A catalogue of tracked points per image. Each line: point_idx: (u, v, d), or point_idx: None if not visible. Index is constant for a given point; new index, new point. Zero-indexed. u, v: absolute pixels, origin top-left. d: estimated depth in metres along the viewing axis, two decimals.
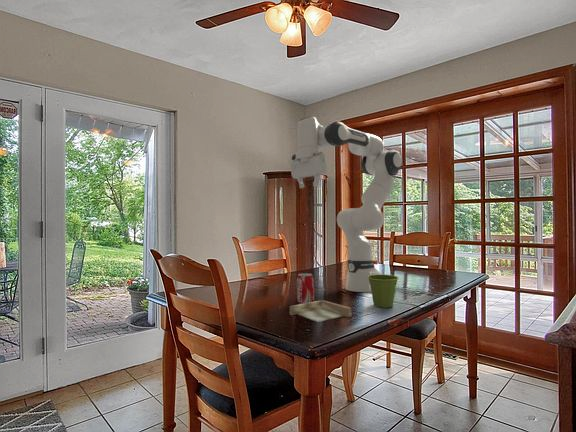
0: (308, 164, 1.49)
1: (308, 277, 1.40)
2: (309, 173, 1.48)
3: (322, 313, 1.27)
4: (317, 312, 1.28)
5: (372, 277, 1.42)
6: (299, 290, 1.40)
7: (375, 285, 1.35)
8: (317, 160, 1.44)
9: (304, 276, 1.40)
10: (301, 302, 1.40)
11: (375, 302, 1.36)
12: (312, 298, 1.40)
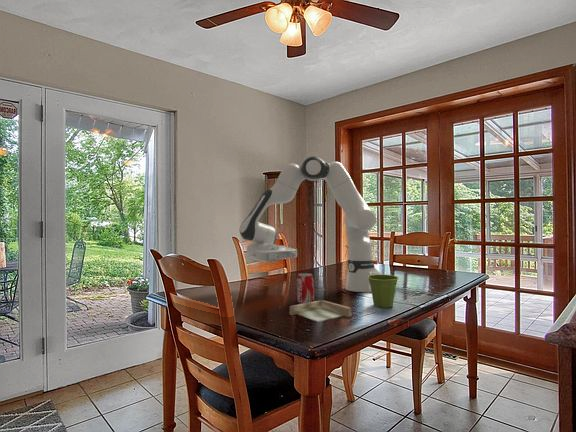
0: None
1: (308, 277, 1.40)
2: (273, 259, 1.56)
3: (322, 313, 1.27)
4: (317, 312, 1.28)
5: (372, 277, 1.42)
6: (299, 290, 1.40)
7: (375, 285, 1.35)
8: None
9: (304, 276, 1.40)
10: (301, 302, 1.40)
11: (375, 302, 1.36)
12: (312, 298, 1.40)
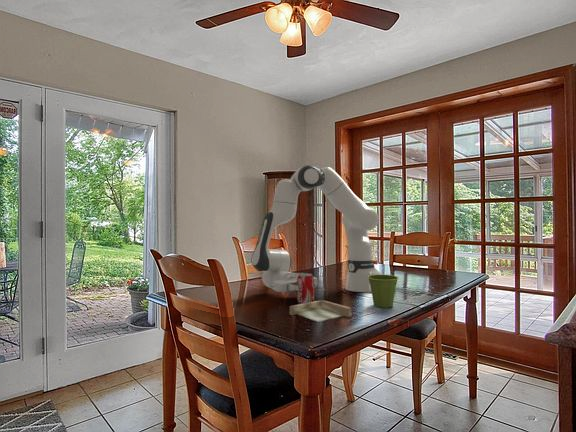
0: None
1: (308, 277, 1.40)
2: (293, 290, 1.44)
3: (322, 313, 1.27)
4: (317, 312, 1.28)
5: (372, 277, 1.42)
6: (299, 290, 1.40)
7: (375, 285, 1.35)
8: None
9: (304, 276, 1.40)
10: (301, 302, 1.40)
11: (375, 302, 1.36)
12: (312, 298, 1.40)
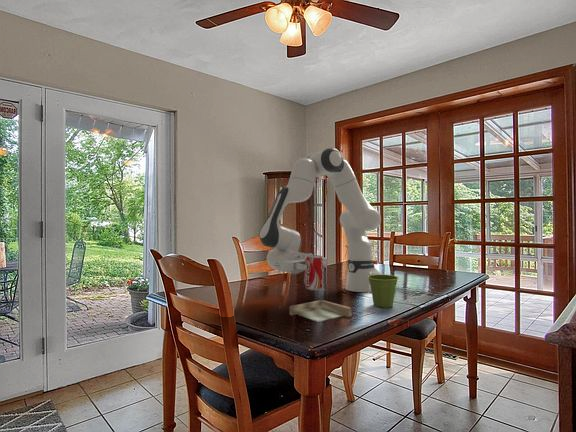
0: None
1: (317, 259, 1.27)
2: (300, 270, 1.32)
3: (322, 313, 1.27)
4: (317, 312, 1.28)
5: (372, 277, 1.42)
6: (306, 273, 1.27)
7: (375, 285, 1.35)
8: None
9: (313, 258, 1.27)
10: (308, 286, 1.27)
11: (375, 302, 1.36)
12: (320, 282, 1.27)
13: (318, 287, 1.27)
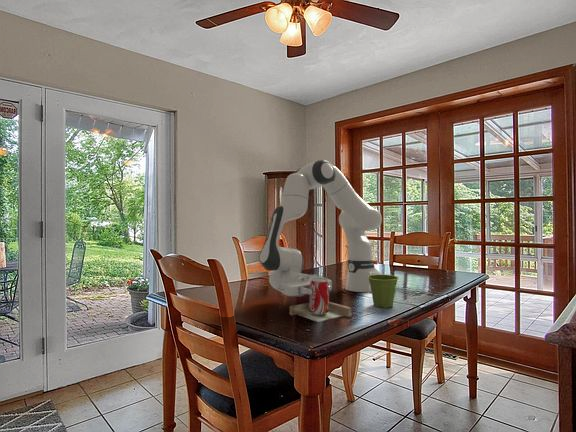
0: None
1: (323, 283, 1.23)
2: None
3: None
4: None
5: (372, 277, 1.42)
6: (312, 297, 1.24)
7: (375, 285, 1.35)
8: None
9: (318, 282, 1.23)
10: (313, 311, 1.23)
11: (375, 302, 1.36)
12: (326, 307, 1.24)
13: (324, 312, 1.23)
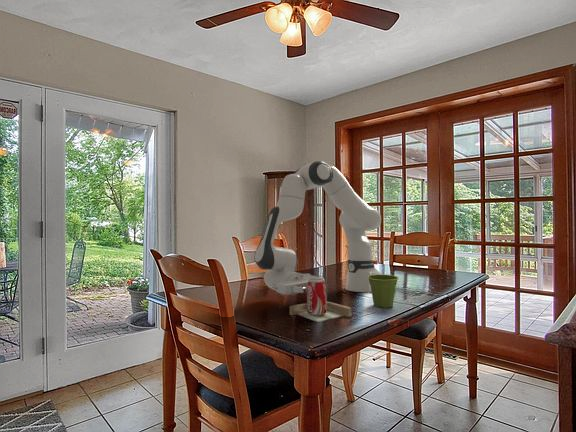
0: None
1: (319, 284, 1.23)
2: (298, 292, 1.31)
3: None
4: None
5: (372, 277, 1.42)
6: (309, 298, 1.24)
7: (375, 285, 1.35)
8: None
9: (314, 282, 1.23)
10: (311, 312, 1.23)
11: (375, 302, 1.36)
12: (324, 307, 1.23)
13: (322, 312, 1.23)
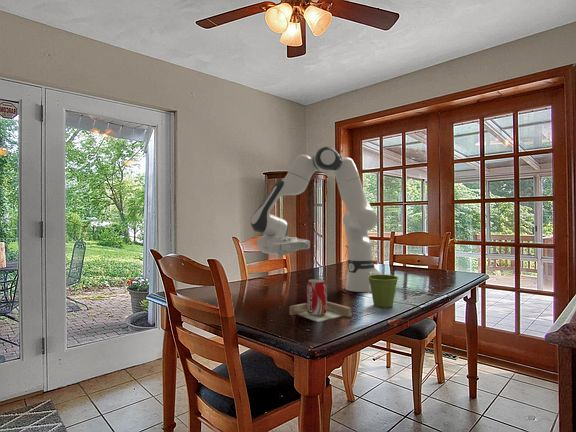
0: None
1: (319, 284, 1.23)
2: (286, 251, 1.51)
3: None
4: None
5: (372, 277, 1.42)
6: (309, 298, 1.24)
7: (375, 285, 1.35)
8: (269, 251, 1.51)
9: (315, 282, 1.23)
10: (311, 312, 1.23)
11: (375, 302, 1.36)
12: (324, 308, 1.23)
13: (322, 313, 1.23)
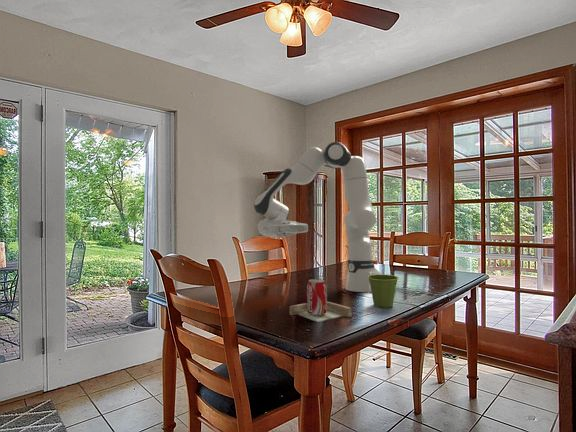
0: None
1: (319, 284, 1.23)
2: (285, 232, 1.57)
3: None
4: None
5: (372, 277, 1.42)
6: (309, 298, 1.24)
7: (375, 285, 1.35)
8: None
9: (315, 282, 1.23)
10: (311, 312, 1.23)
11: (375, 302, 1.36)
12: (324, 308, 1.23)
13: (322, 313, 1.23)
